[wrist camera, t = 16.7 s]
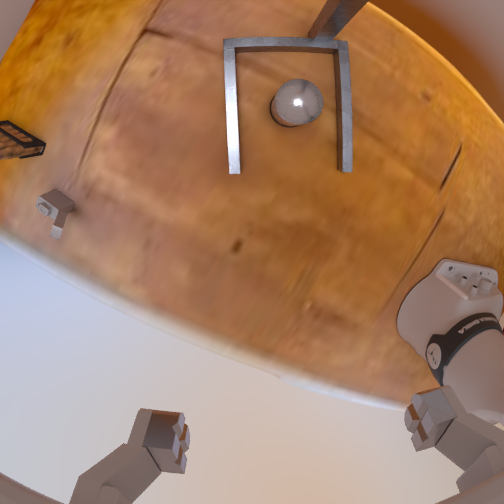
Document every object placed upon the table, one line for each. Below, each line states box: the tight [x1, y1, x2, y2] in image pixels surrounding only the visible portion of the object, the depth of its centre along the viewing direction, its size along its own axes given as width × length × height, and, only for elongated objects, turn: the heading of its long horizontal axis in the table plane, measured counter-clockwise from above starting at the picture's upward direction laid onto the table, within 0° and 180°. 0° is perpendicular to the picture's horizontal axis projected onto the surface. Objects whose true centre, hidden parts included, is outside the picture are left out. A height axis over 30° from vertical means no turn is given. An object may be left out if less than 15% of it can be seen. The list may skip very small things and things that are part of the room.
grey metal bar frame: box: [223, 0, 369, 174], centre depth 25 cm, size 14×18×16 cm
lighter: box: [36, 190, 74, 240], centre depth 34 cm, size 7×2×8 cm, turn 56°
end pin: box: [270, 79, 323, 127], centre depth 29 cm, size 5×5×9 cm
